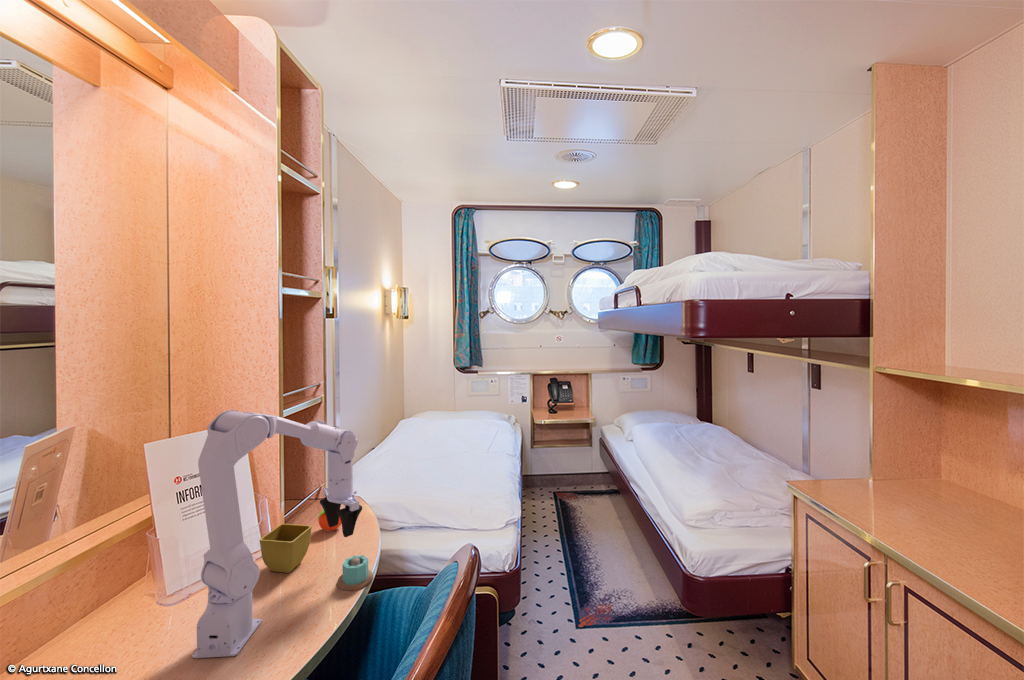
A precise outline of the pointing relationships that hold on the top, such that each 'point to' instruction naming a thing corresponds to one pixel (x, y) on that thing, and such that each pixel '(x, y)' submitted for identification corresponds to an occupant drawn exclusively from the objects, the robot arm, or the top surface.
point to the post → (355, 587)
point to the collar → (355, 570)
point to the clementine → (324, 523)
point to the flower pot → (285, 546)
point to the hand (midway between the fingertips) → (340, 530)
